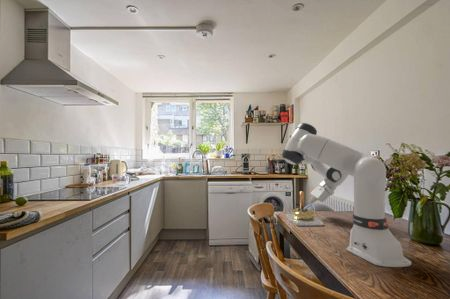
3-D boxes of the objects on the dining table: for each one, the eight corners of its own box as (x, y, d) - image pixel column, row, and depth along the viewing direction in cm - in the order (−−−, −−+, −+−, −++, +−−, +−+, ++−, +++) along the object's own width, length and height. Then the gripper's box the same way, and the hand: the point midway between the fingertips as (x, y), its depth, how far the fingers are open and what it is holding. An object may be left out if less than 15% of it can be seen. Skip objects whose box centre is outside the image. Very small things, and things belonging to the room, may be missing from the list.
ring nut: (311, 213, 152) (311, 191, 152) (315, 220, 137) (315, 195, 138) (291, 213, 154) (291, 190, 155) (293, 219, 140) (293, 194, 140)
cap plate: (323, 225, 134) (323, 221, 135) (296, 225, 134) (296, 222, 134) (309, 216, 154) (309, 213, 155) (286, 216, 154) (286, 213, 154)
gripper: (317, 182, 162) (302, 196, 163) (327, 186, 141) (309, 202, 142) (324, 189, 161) (309, 203, 162) (335, 193, 141) (317, 210, 142)
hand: (309, 202), depth 152 cm, fingers closed
